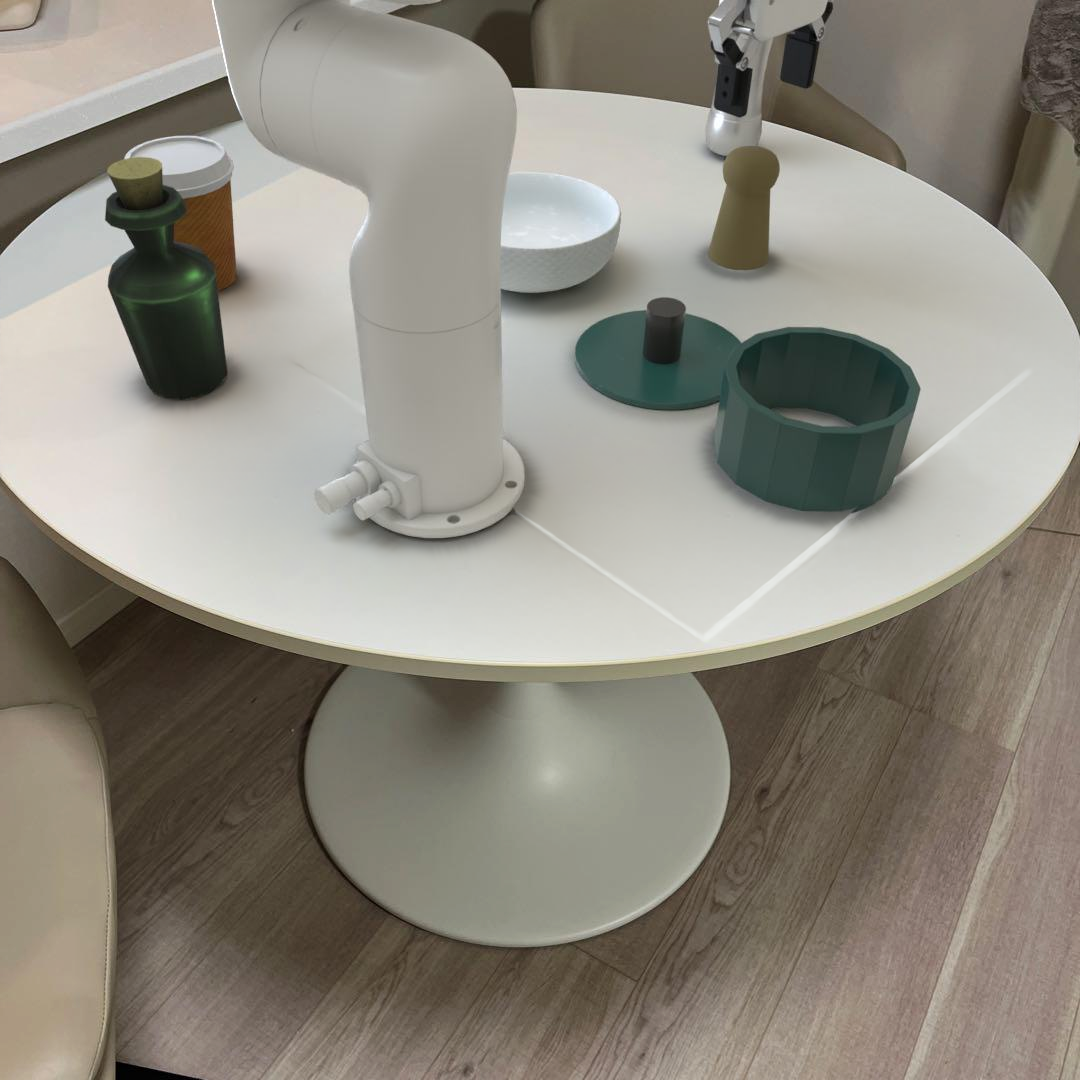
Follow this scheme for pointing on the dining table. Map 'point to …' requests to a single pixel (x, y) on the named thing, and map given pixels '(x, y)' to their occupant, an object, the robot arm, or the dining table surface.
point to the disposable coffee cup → (199, 196)
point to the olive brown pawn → (745, 209)
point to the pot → (807, 449)
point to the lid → (656, 357)
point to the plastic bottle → (747, 130)
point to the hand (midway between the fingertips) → (763, 98)
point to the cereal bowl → (555, 231)
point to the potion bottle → (164, 286)
